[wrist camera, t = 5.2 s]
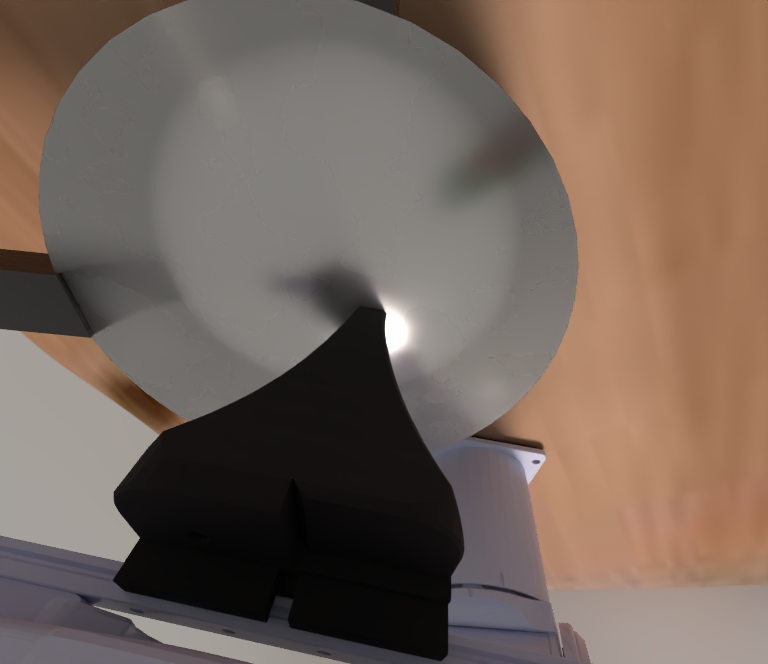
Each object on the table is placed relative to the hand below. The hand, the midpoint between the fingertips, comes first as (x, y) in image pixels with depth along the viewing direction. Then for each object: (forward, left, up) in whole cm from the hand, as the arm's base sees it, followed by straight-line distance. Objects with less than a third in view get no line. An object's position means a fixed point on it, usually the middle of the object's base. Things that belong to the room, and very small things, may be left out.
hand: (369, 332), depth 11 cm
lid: (0, +4, -1) cm, 4 cm away
